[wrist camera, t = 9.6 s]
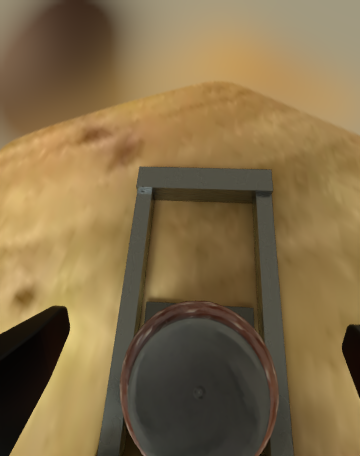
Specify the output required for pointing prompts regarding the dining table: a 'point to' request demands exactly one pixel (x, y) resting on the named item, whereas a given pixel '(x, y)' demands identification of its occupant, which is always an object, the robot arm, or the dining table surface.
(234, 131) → the dining table surface
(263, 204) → the grey rectangular frame
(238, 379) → the supplement bottle
